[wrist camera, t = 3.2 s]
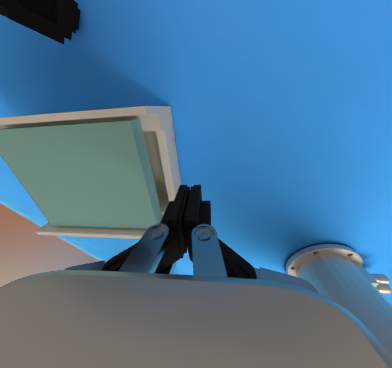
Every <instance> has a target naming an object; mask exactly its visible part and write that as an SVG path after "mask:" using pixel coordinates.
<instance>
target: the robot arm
mask: <svg viewBox="0 0 392 368" xmlns="http://www.w3.org/2000/svg"><path fill="white" fill-rule="evenodd" d="M187 247H188V253H189V258H190V260H191V261H192V262H193V274H194V275H177V274H173V272H174V269H175V266H176V261H177V260H179V259H180V258H183V256H184V253H187ZM286 272H287V274H284V273H280V272H276V271H272V270H269V269H265V268H261V267H260V268H259V269H257V268H253V266H252V265H251V264H250V263H248V262H247V261H246V260H245V259H243V258H242V257H241V256H240V255H238V254H237V253H236V252H235V251H233V250H232V249H231V248H229V247H228V246H227V245H226V244H224V243H223V242H222V241H221V240H219V239H218V237H217V232H216V230H215V228H214V227H212V226H211V205H210V201H202V195H201V185H194V187H191V190H190V187H187V185H180V186H179V188H178V191H177V194H176V197H175V199H174V201H169V203H168V205H167V208H166V210H165V213H164V215H163V218H162V220H161V222H160V224H155V225H152V226H151V227H149V228H148V229H147V230H146V232H145V233H144V234H143V236H142V237H141V239H140V240H139V242H138V243H136V244H135V245H133V246H131V247H129V248H128V249H126V250H124V251H123V252H121V253H119V254H118V255H116V256H114V257H113V258H111V259H110V260H108V261H107V262H105V261H100V262H94V263H89V264H83V265H78V266H72V267H69V268H66V269H65V270H58V271H50V272H44V273H39V274H34V275H30V276H27V277H24V278H21V279H18V280H15V281H13V282H11V283H8V284H6V285H4V286H2V287H0V368H392V306H391V305H390V304H389V302H388V301H387V300H386V299H385V298H384V297H383V296H382V295H381V294H391V289H390V287H389V286H388V283H389V279H388V277H387V276H385V275H383V274H370V273H368V272H367V271H366V270H365V268H364V267H363V260H362V258H361V257H360V255H359V254H357V253H356V252H355V251H354V250H353V249H351V248H349V247H347V246H344V245H338V244H319V245H314V246H310V247H307V248H305V249H302V250H300V251H298V252H297V253H295V254H294V255H293V256H291V257H290V259H289V260H288V261H287V263H286Z"/></svg>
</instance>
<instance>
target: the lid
mask: <svg viewBox="0 0 392 368" xmlns="http://www.w3.org/2000/svg"><path fill="white" fill-rule="evenodd" d="M0 155H1V157H2V158H3V159H4V161H5V162H6V164H7V165H8V166H9V168H10V169H11V171H12V172H13V173H14V175H15V176H16V177H17V179H18V180H19V182H20V183H21V184H22V186H23V187H24V188H25V190H26V191H27V193H28V194H29V195H30V197H31V198H32V200H33V201H34V202H35V204H36V205H37V206H38V208H39V209H40V211H41V212H42V213H43V215H44V216H45V217H46V219H47V220H48V222H49V223H50V224H51V226H70V227H102V228H133V229H148V228H149V227H151V226H152V225H155V224H160V222H161V220H162V213H161V209H160V204H159V200H158V196H157V191H156V187H155V183H154V178H153V174H152V169H151V165H150V161H149V156H148V152H147V148H146V143H145V139H144V134H143V130H142V126H141V121H140V119H133V120H119V121H104V122H90V123H75V124H61V125H46V126H32V127H17V128H4V129H0Z"/></svg>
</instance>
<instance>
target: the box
mask: <svg viewBox="0 0 392 368" xmlns="http://www.w3.org/2000/svg"><path fill="white" fill-rule="evenodd" d="M133 119H140V121H141V126H142V130H143V134H144V139H145V143H146V148H147V152H148V156H149V161H150V165H151V169H152V174H153V178H154V183H155V187H156V191H157V196H158V200H159V204H160V209H161V213H162V218H163V215H164V213H165V210H166V208H167V205H168V203H169V201H174V199H175V197H176V194H177V191H178V188H179V186H180V185H181V180H180V172H179V164H178V157H177V149H176V142H175V134H174V126H173V119H172V111H171V106H138V107H126V108H114V109H101V110H89V111H77V112H64V113H52V114H39V115H27V116H15V117H2V118H0V129H4V128H17V127H32V126H46V125H61V124H75V123H90V122H104V121H119V120H133ZM146 230H147V229H133V228H102V227H70V226H51V224H50V223H47V224H46V225H44V226H43V227H41V228H40V229H39V230H37V231H36V233H37V234H38V235H57V236H81V237H105V238H129V239H141V237H142V236H143V234H144V233H145V232H146Z"/></svg>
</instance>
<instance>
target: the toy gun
mask: <svg viewBox="0 0 392 368" xmlns="http://www.w3.org/2000/svg"><path fill="white" fill-rule="evenodd" d="M77 8H78V3H76V2H75V1H74V0H0V14H1V15H3V16H6V17H7V18H9V19H11V20H13V21H15V22H17V23H19V24H22V25H24V26H26V27H28V28H30V29H32V30H34V31H36V32H39V33H41V34H43V35H45V36H47V37H49V38H51V39H53V40H56V41H58V42H60V43H62V44H64V37H65V38H67V39H69V40H71V37H72V32H74V33H75V32H76V29H77V30H78V29H79V18H80V10H79V9H77Z"/></svg>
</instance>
